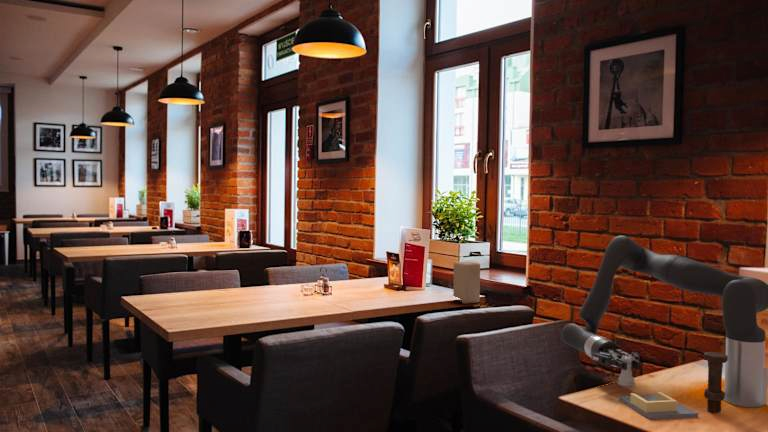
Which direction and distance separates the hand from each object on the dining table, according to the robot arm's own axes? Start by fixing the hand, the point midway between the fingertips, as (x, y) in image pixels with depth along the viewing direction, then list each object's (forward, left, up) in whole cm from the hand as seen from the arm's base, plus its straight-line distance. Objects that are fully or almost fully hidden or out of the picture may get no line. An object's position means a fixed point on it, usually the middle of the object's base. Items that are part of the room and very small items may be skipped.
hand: (632, 366), depth 177 cm
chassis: (-2, +9, -9) cm, 13 cm away
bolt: (-15, +14, -9) cm, 22 cm away
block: (+3, -153, -9) cm, 153 cm away
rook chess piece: (0, -3, -6) cm, 7 cm away
